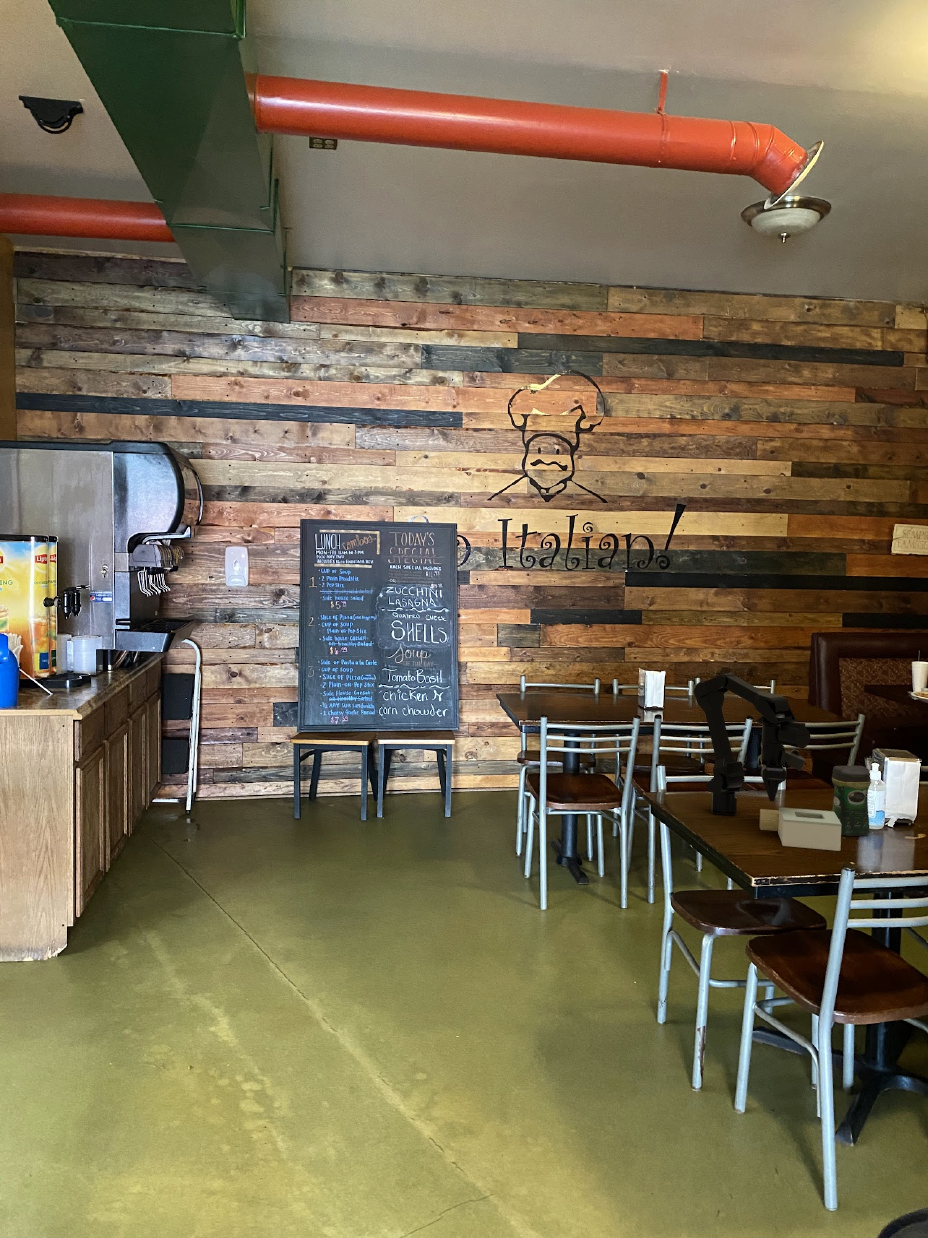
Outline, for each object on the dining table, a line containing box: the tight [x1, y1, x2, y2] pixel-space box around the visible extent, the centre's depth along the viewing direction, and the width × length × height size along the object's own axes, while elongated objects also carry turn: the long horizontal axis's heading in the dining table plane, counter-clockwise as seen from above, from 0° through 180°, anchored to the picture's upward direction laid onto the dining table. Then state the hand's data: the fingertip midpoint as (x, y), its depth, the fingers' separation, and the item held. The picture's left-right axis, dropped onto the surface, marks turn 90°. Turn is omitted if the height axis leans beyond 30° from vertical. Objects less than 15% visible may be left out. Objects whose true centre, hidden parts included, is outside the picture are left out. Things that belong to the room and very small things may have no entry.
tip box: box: [777, 806, 842, 852], centre depth 232 cm, size 14×12×7 cm
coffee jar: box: [831, 765, 872, 837], centre depth 240 cm, size 10×8×19 cm
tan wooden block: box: [759, 808, 779, 832], centre depth 243 cm, size 5×3×5 cm, turn 75°
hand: (770, 797), depth 242 cm, fingers open, 9 cm apart
